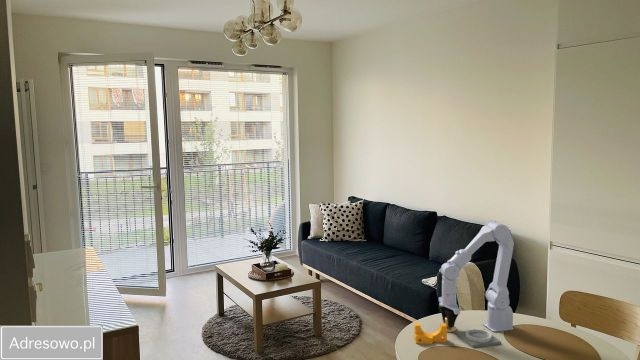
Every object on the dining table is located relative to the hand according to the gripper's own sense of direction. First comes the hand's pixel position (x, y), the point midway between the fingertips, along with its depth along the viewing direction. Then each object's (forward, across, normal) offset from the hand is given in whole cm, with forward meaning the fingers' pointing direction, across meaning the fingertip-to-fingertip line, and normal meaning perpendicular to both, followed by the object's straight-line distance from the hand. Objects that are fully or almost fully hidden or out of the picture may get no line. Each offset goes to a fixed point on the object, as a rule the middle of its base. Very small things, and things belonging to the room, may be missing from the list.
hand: (448, 324), depth 194 cm
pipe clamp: (+2, +8, -12) cm, 14 cm away
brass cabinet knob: (+2, 0, 0) cm, 2 cm away
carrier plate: (+2, +11, +7) cm, 13 cm away
